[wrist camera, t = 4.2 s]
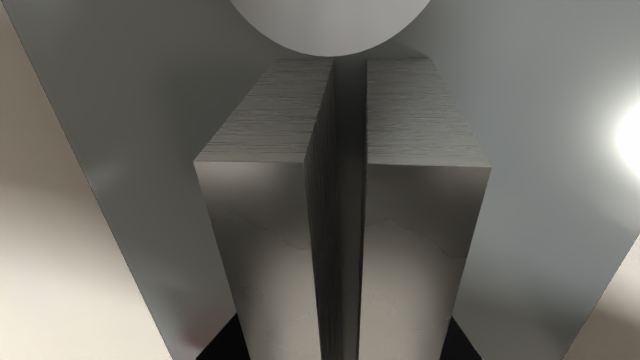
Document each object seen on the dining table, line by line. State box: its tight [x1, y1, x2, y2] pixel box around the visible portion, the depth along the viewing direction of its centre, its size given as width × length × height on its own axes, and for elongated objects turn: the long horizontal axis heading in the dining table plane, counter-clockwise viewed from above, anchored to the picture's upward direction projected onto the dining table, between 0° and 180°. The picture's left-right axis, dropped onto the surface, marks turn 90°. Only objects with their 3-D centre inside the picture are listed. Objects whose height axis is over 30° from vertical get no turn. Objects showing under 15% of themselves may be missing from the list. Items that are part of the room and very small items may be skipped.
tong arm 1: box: [356, 58, 492, 360], centre depth 9 cm, size 2×12×4 cm, turn 2°
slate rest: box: [1, 0, 640, 360], centre depth 8 cm, size 14×18×5 cm
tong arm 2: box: [193, 59, 343, 360], centre depth 9 cm, size 2×12×4 cm, turn 3°
